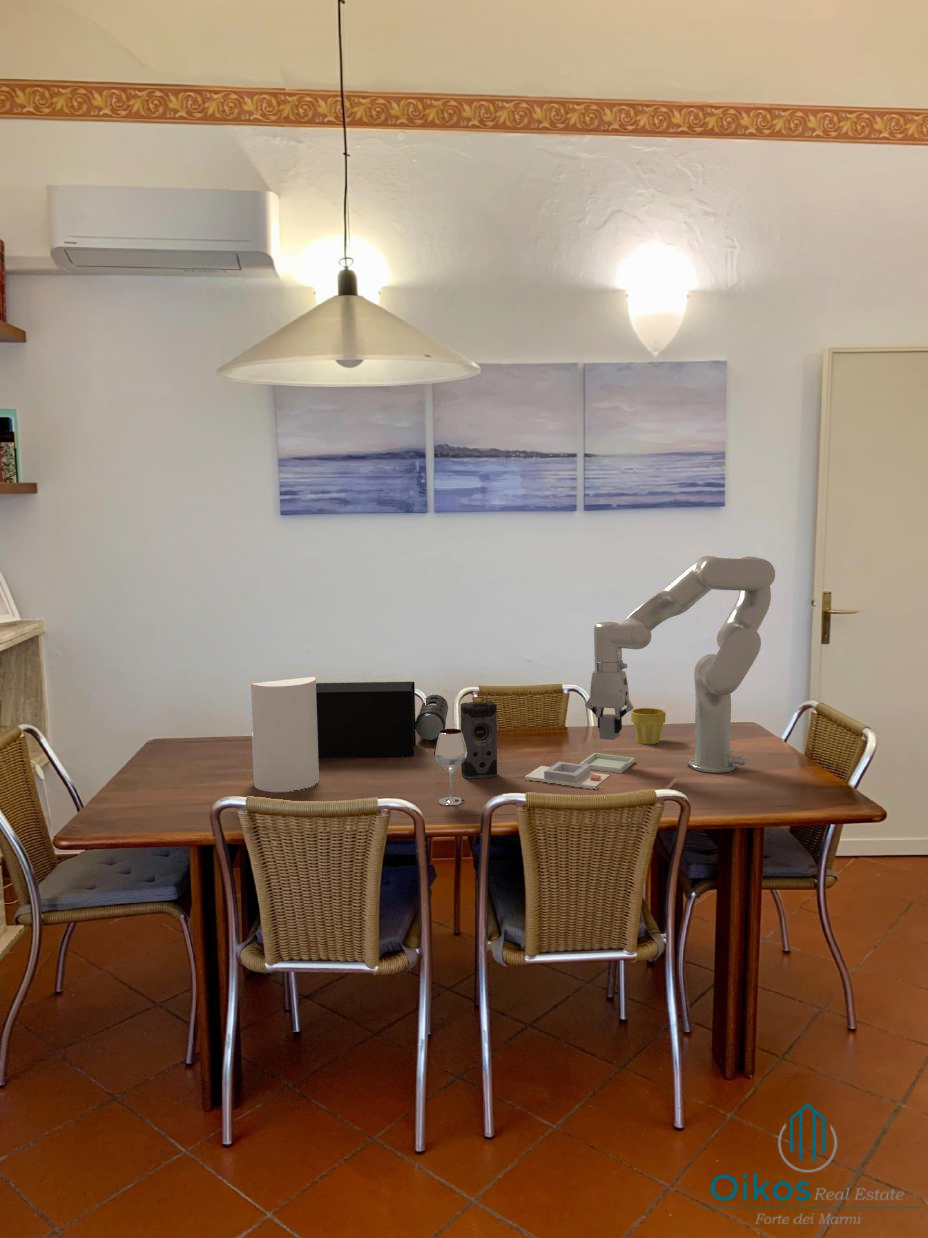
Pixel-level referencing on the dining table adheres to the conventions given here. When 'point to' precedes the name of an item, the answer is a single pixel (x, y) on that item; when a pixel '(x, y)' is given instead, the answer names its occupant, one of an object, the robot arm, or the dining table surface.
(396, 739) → the uninterruptible power supply
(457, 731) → the wineglass
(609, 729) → the plug
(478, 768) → the electronic device
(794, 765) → the dining table surface
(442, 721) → the muzzle brake
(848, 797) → the dining table surface
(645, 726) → the plant pot
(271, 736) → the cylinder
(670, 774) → the dining table surface
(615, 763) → the tray
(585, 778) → the plate with square socket
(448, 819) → the dining table surface
